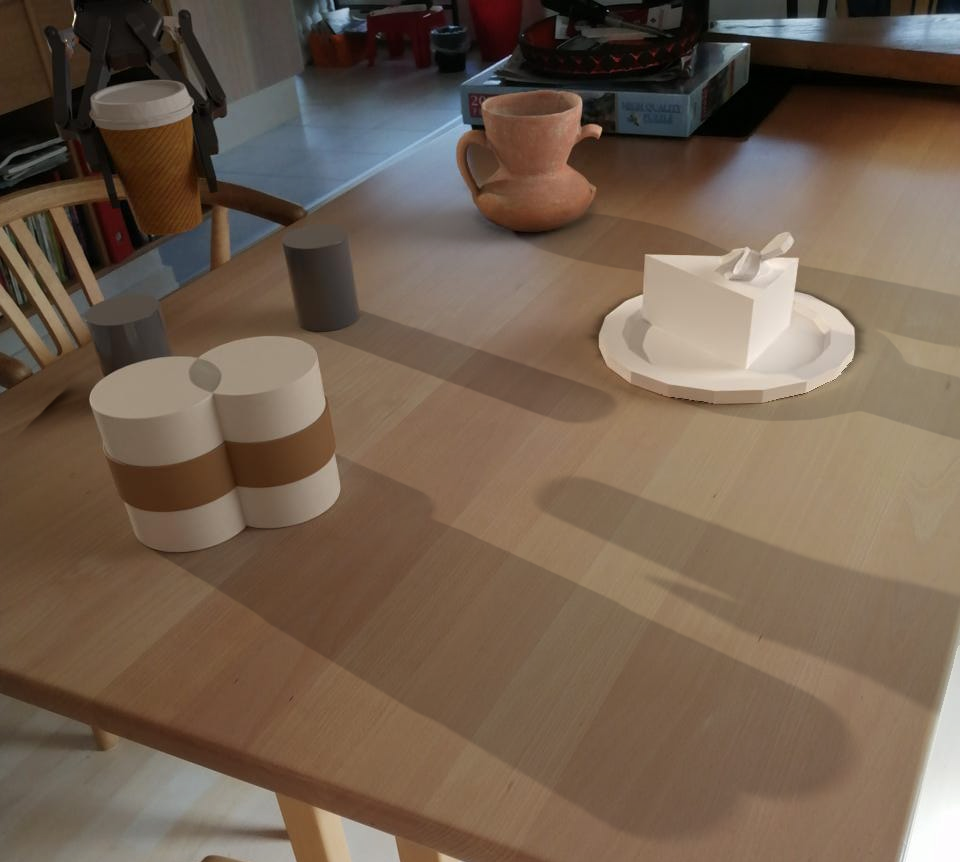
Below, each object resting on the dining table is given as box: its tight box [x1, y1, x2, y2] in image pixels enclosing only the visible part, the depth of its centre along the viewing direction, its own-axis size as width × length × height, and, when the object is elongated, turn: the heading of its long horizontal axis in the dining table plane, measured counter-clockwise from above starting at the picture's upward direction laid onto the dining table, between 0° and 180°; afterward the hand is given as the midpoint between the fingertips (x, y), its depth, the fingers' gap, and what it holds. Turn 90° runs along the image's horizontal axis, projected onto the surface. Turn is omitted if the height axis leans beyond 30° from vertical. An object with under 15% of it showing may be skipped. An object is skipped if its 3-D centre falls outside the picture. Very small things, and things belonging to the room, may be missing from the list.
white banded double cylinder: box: [89, 335, 342, 553], centre depth 83 cm, size 17×14×12 cm
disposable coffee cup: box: [89, 79, 203, 236], centre depth 99 cm, size 10×10×12 cm
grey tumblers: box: [83, 224, 361, 378], centre depth 106 cm, size 7×30×9 cm, turn 134°
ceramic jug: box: [455, 89, 603, 233], centre depth 129 cm, size 18×14×14 cm
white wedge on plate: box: [598, 231, 856, 405], centre depth 100 cm, size 25×25×11 cm
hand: (164, 193), depth 98 cm, fingers closed on disposable coffee cup, 9 cm apart
